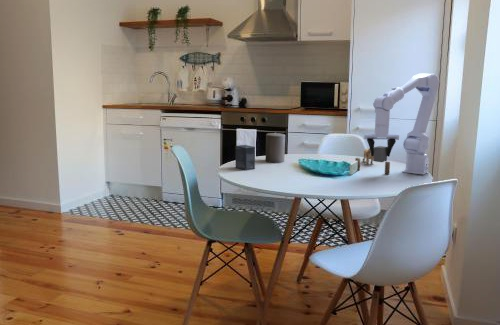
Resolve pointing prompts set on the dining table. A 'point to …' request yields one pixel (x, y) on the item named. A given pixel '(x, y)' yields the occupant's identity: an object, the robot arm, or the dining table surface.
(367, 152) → the lion figurine
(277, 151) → the pillar candle
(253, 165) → the box
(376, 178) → the dining table surface
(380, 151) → the block
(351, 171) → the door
